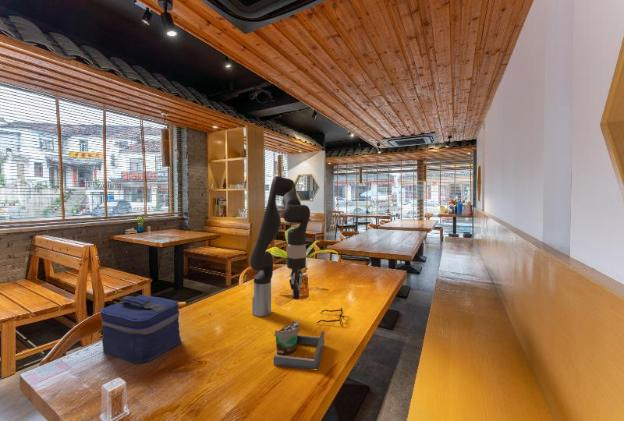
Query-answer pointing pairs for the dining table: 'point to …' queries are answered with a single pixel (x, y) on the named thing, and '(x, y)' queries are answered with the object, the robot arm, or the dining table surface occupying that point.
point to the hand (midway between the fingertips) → (296, 298)
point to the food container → (287, 339)
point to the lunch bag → (140, 328)
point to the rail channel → (303, 362)
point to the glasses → (333, 320)
